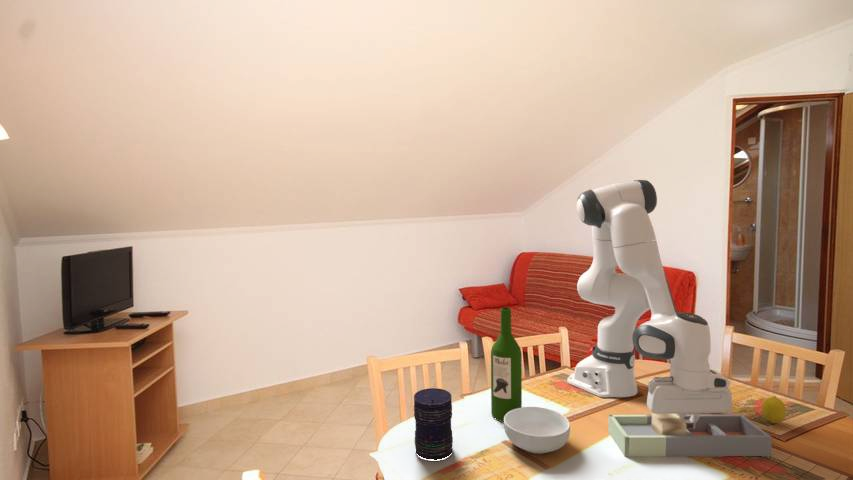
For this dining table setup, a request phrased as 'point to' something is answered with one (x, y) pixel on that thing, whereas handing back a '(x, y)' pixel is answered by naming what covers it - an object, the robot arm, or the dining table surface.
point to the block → (668, 424)
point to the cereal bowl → (536, 429)
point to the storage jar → (433, 423)
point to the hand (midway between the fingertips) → (687, 427)
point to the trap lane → (690, 437)
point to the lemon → (773, 409)
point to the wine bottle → (505, 370)
